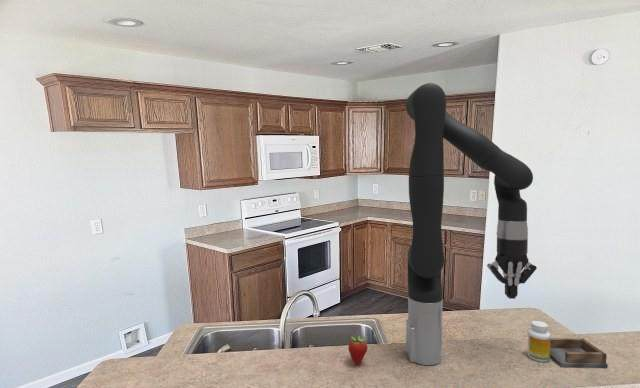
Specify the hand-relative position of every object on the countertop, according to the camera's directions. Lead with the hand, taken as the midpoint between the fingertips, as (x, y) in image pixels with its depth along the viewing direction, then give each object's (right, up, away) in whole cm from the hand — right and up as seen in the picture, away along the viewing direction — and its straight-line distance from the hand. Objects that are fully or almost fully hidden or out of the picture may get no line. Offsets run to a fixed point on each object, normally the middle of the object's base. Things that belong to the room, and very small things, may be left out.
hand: (511, 297), depth 99 cm
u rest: (+17, -17, 0) cm, 24 cm away
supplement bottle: (+8, -17, +1) cm, 19 cm away
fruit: (-43, -18, -2) cm, 47 cm away
